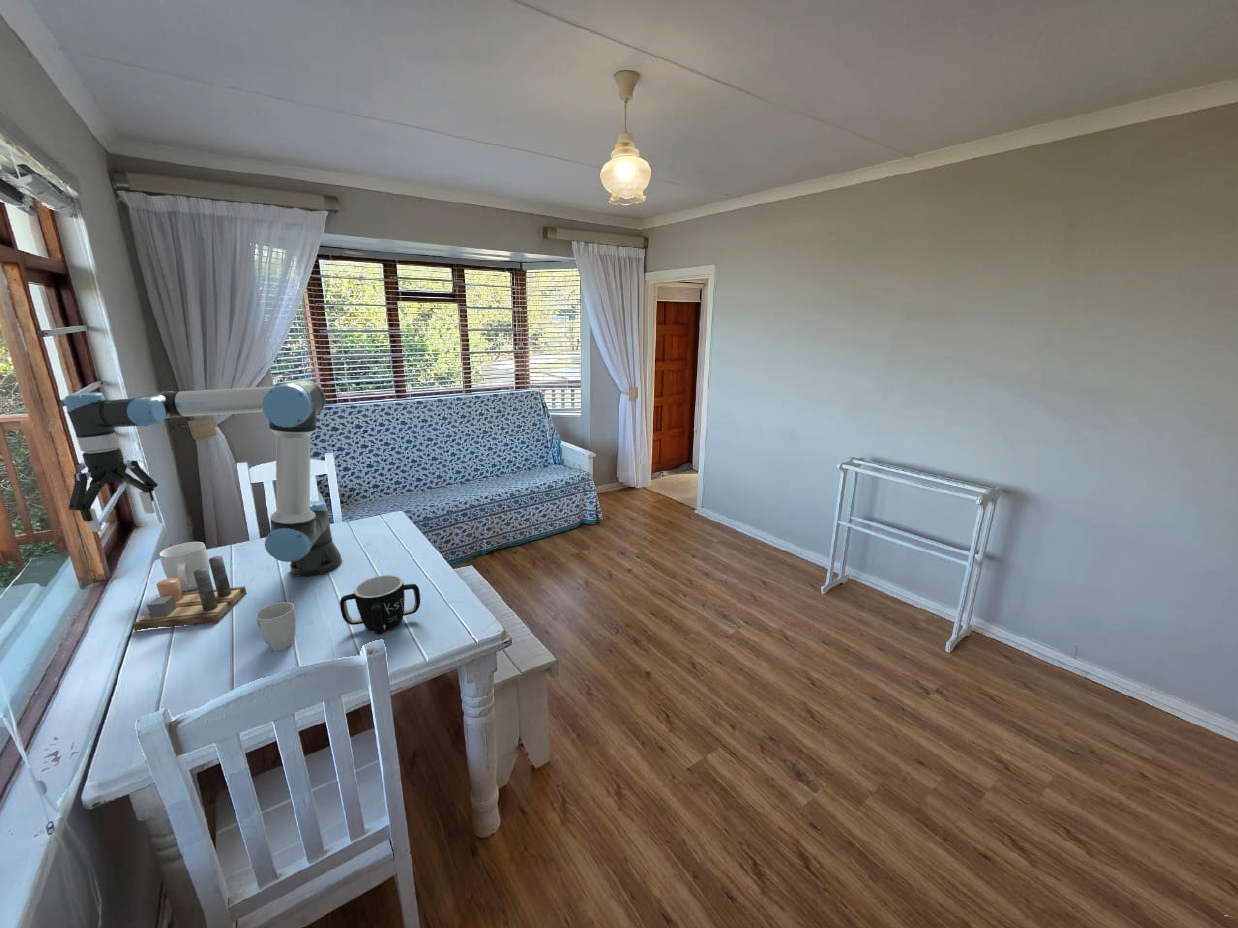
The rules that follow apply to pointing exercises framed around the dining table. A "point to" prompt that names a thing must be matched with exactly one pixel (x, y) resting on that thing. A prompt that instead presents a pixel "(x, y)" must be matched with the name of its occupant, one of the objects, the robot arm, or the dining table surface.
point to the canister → (170, 588)
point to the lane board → (191, 619)
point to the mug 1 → (184, 562)
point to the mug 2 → (380, 603)
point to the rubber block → (161, 606)
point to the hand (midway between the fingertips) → (124, 521)
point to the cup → (277, 625)
